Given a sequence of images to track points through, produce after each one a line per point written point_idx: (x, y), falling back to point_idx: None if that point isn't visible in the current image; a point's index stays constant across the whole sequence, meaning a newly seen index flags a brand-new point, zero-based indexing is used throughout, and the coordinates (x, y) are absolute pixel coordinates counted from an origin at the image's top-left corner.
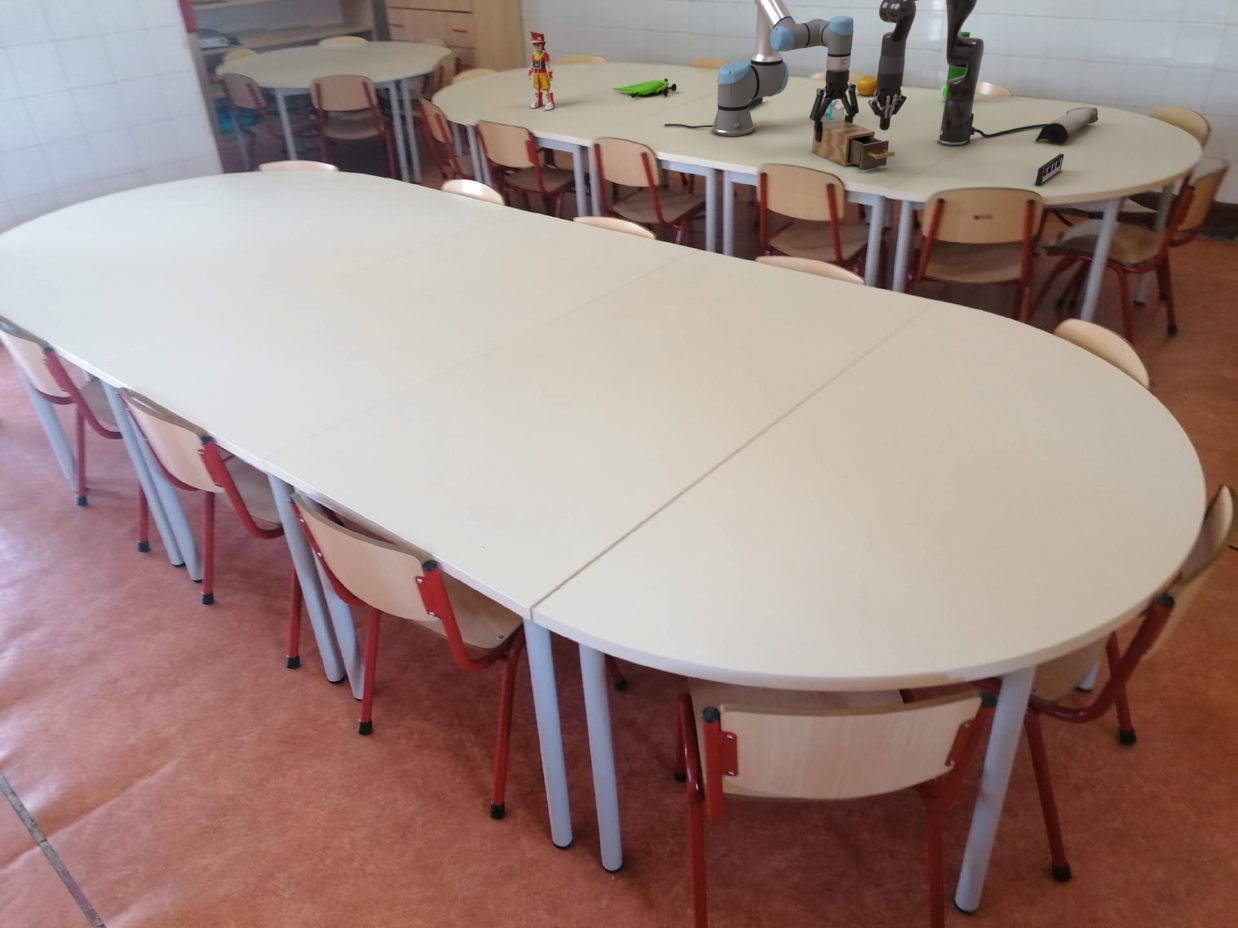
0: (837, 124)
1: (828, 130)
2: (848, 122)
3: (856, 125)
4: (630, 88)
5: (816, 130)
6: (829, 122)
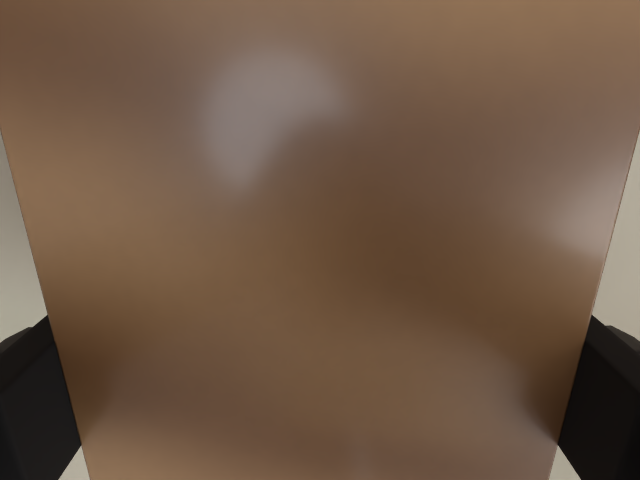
0: (305, 318)
1: (621, 143)
2: (76, 322)
3: (15, 59)
4: None
5: (626, 339)
6: (342, 461)
